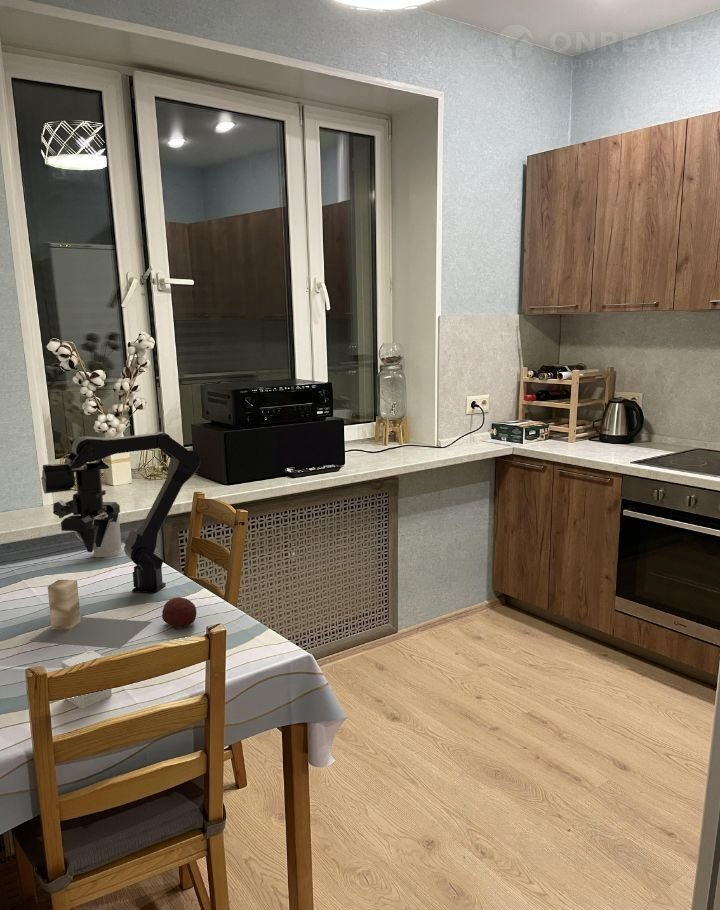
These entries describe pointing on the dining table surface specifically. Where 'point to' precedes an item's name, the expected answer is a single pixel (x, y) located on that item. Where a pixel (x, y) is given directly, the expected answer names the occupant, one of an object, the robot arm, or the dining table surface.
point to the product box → (89, 698)
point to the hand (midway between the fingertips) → (94, 549)
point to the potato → (179, 612)
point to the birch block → (64, 604)
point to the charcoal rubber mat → (94, 633)
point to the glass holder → (109, 539)
